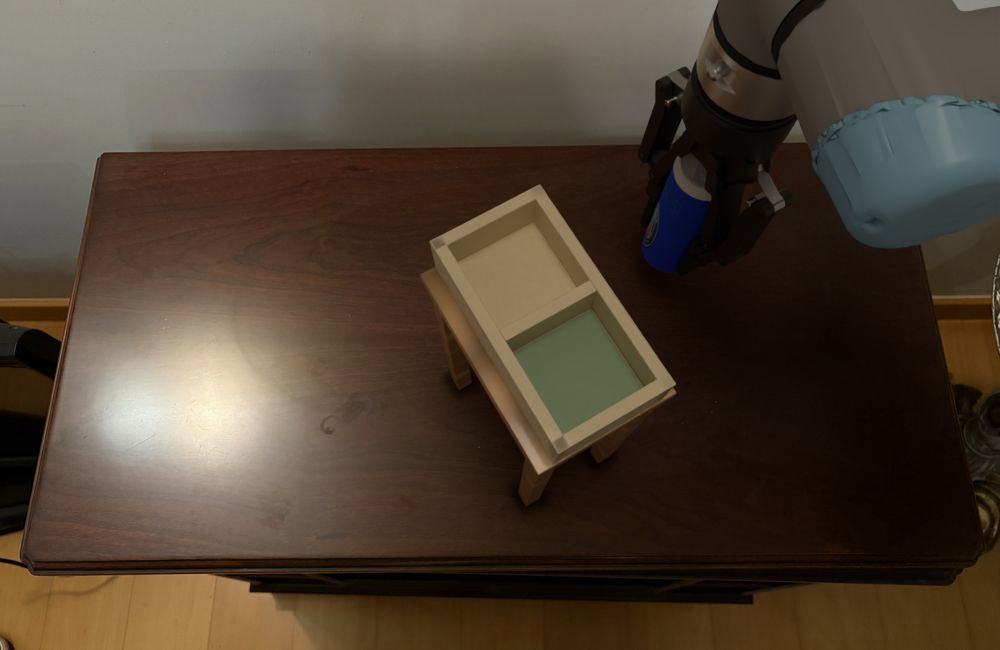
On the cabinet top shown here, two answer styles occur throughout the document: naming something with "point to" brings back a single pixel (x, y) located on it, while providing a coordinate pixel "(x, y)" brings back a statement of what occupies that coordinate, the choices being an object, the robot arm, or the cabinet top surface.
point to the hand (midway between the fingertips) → (671, 242)
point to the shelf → (467, 350)
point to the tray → (549, 322)
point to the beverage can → (677, 215)
